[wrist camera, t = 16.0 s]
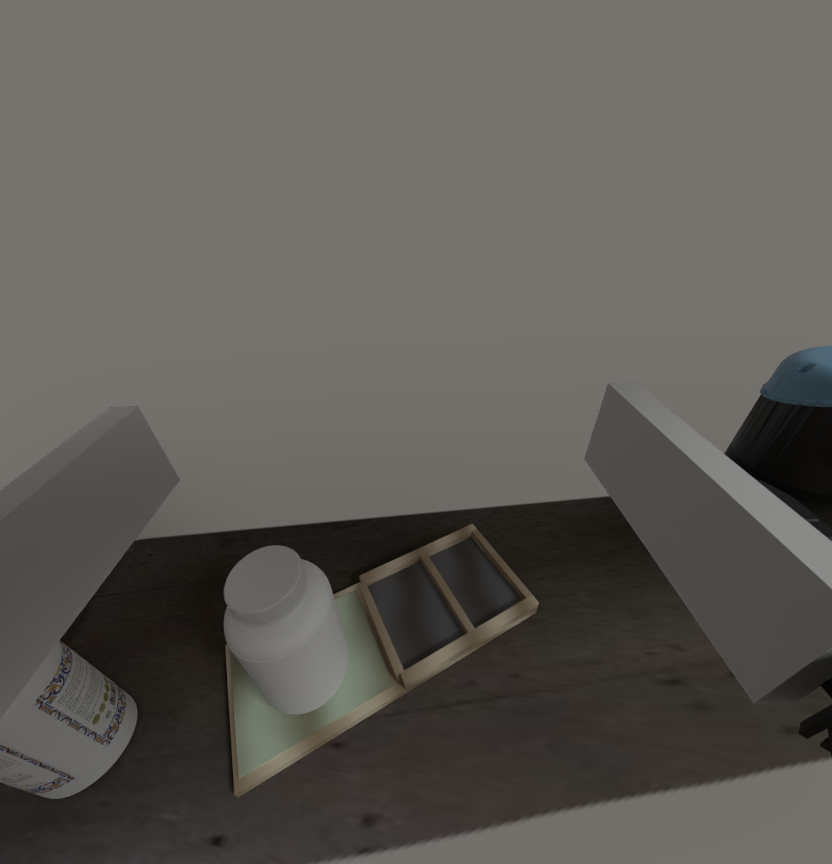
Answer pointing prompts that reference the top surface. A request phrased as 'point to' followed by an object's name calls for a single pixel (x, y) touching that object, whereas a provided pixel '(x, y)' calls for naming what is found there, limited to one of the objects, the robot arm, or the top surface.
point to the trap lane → (384, 647)
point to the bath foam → (64, 727)
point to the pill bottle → (285, 628)
